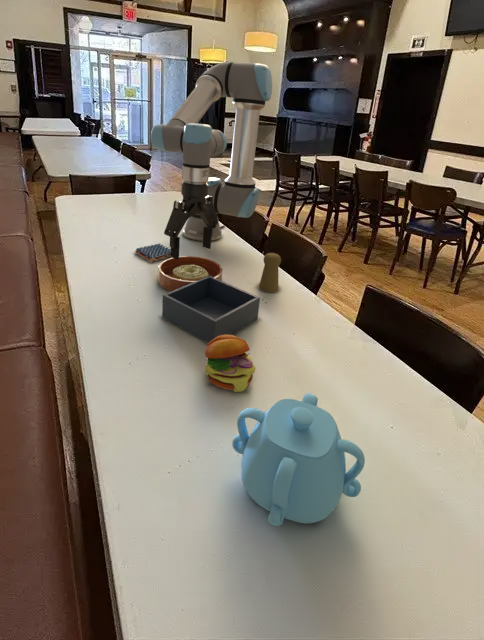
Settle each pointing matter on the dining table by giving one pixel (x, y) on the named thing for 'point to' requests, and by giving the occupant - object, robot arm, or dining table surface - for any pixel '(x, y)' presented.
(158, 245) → the woven mat
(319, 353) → the dining table surface
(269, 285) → the brown pawn
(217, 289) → the bin
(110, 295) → the dining table surface
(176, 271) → the decorated donut
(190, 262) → the bowl
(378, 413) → the dining table surface
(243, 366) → the cheeseburger
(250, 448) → the decorative pot
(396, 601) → the dining table surface
